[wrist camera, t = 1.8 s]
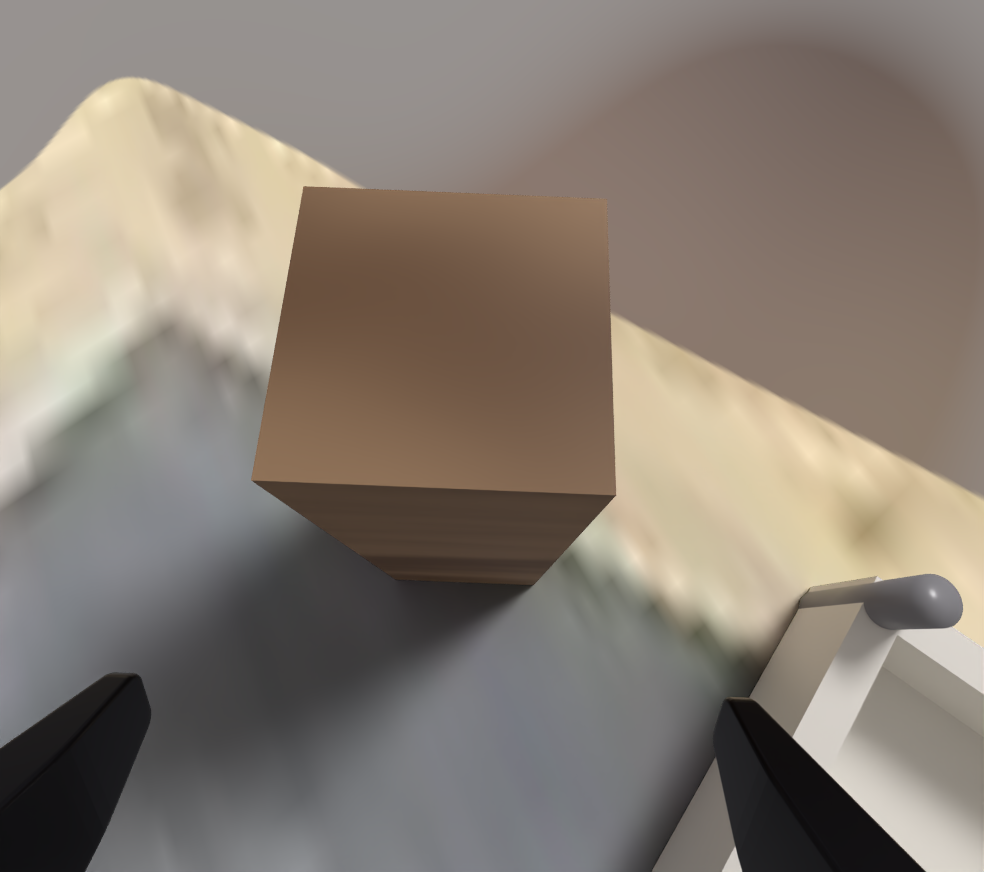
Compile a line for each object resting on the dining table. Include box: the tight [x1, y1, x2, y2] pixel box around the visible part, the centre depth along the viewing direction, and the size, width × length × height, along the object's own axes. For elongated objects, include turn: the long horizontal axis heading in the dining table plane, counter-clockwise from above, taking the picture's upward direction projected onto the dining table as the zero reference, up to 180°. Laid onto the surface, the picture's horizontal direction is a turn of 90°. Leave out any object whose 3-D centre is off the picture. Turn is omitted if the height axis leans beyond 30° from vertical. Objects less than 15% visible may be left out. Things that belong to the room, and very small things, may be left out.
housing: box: [652, 574, 984, 872], centre depth 16 cm, size 11×11×6 cm
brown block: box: [251, 186, 616, 585], centre depth 15 cm, size 5×5×14 cm
